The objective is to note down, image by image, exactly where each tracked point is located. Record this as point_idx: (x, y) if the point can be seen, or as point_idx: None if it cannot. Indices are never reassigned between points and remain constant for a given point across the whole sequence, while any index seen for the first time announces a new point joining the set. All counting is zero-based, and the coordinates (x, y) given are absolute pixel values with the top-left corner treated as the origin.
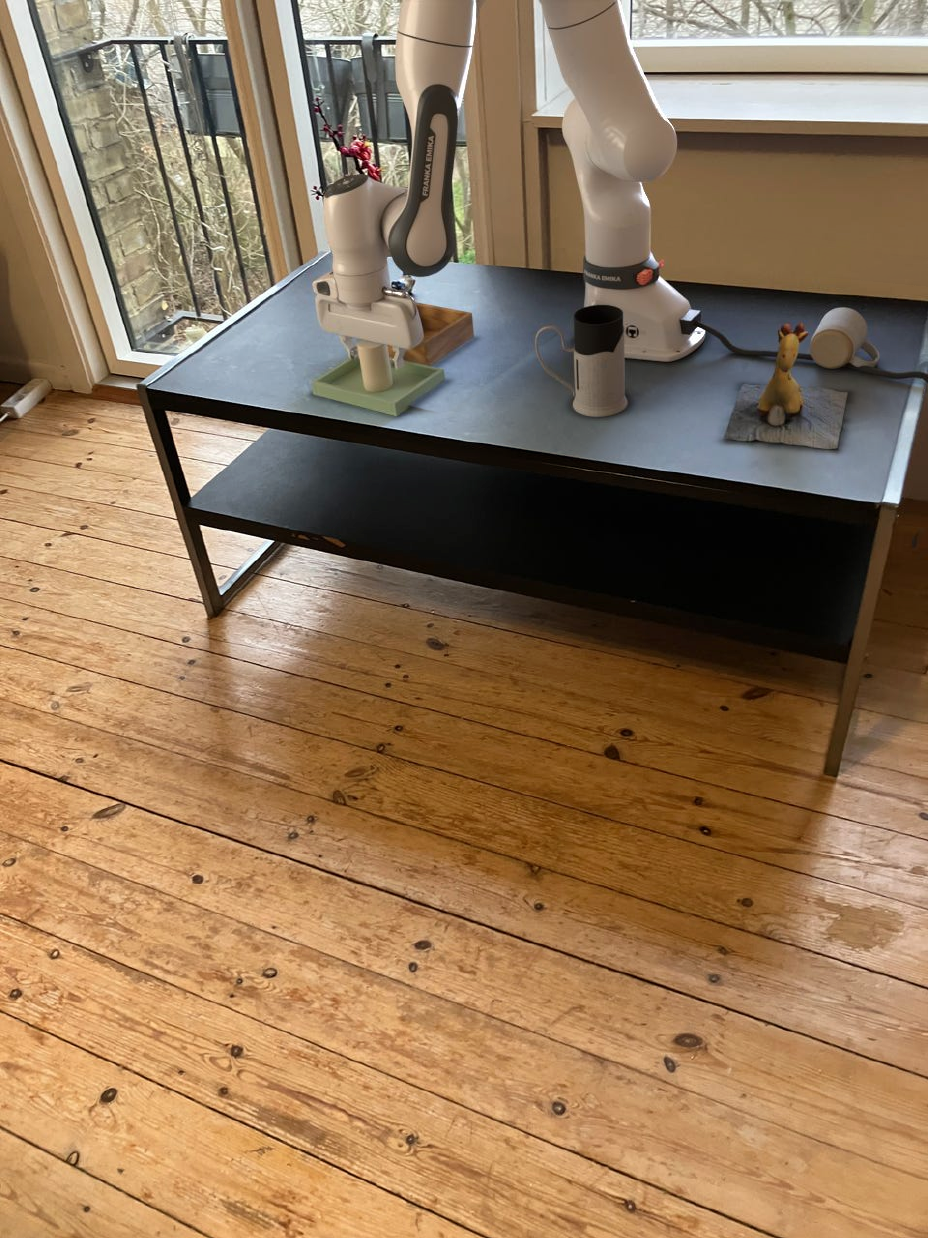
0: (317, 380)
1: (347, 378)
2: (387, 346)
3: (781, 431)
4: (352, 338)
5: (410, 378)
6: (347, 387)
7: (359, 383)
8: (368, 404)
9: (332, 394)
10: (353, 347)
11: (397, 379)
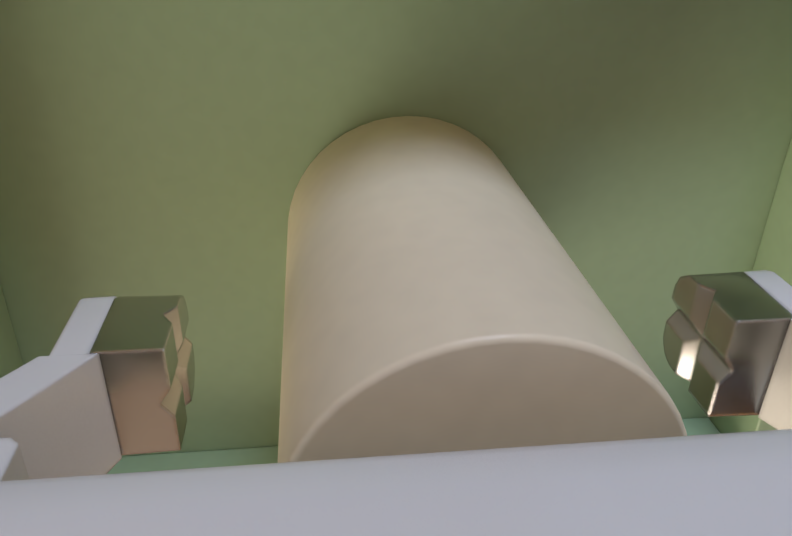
0: None
1: (72, 247)
2: (619, 327)
3: None
4: (11, 416)
5: (590, 13)
6: (201, 349)
7: (238, 270)
8: None
9: None
10: (109, 403)
11: (488, 80)
